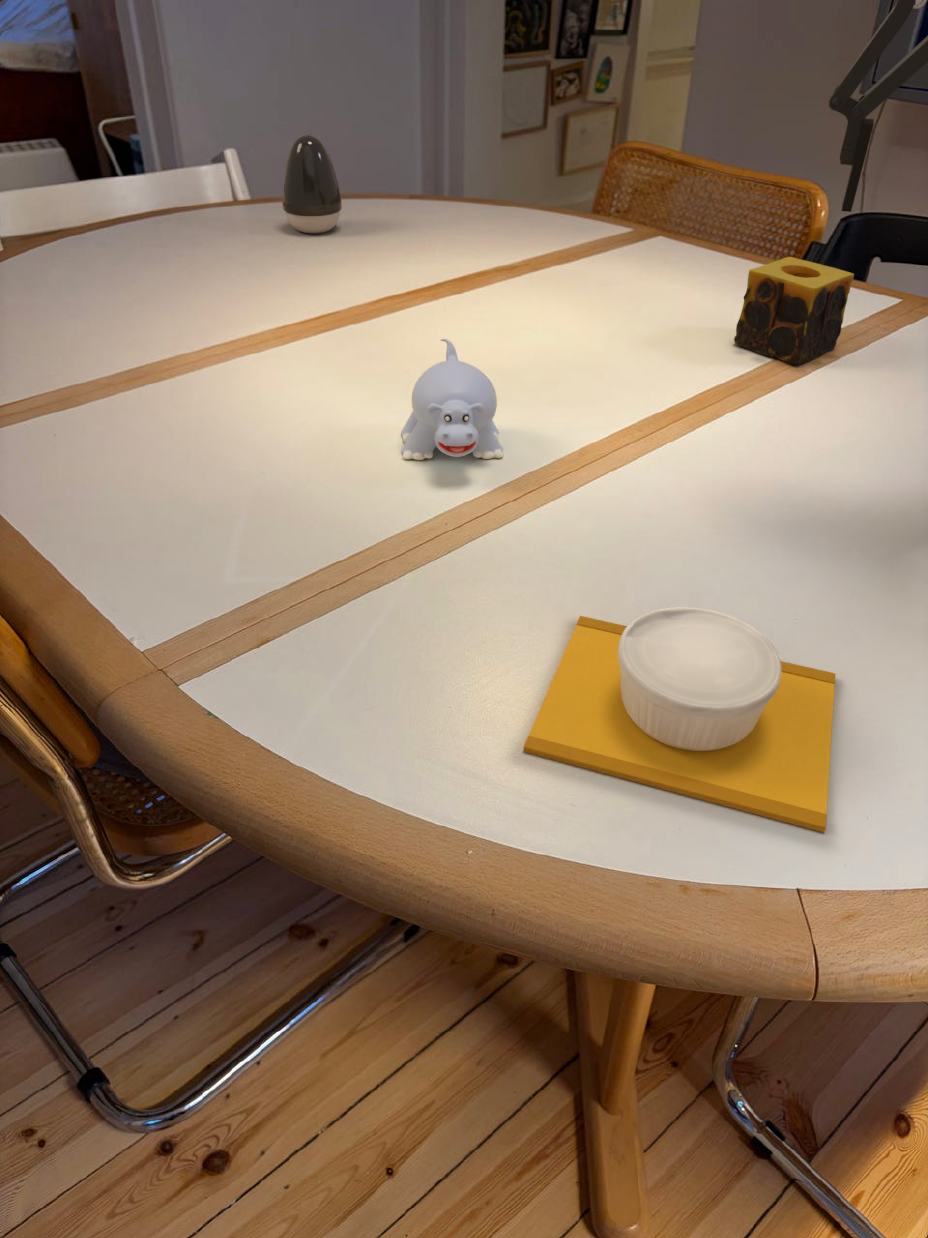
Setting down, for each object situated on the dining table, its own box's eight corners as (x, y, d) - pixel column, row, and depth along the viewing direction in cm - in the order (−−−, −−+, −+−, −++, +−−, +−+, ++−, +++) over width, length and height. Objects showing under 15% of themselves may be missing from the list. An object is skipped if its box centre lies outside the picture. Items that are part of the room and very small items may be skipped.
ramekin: (683, 641, 74) (695, 587, 71) (799, 721, 67) (817, 665, 64) (577, 696, 68) (585, 640, 65) (691, 789, 61) (705, 732, 58)
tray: (834, 678, 71) (835, 673, 71) (824, 833, 59) (826, 827, 59) (579, 620, 76) (580, 615, 76) (522, 751, 64) (523, 746, 64)
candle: (796, 367, 120) (816, 289, 114) (730, 345, 126) (745, 269, 119) (837, 348, 125) (858, 273, 119) (772, 327, 131) (789, 254, 125)
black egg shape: (344, 221, 170) (339, 128, 161) (341, 237, 162) (336, 140, 152) (287, 221, 169) (279, 127, 160) (282, 237, 161) (273, 140, 152)
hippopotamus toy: (403, 486, 93) (401, 397, 87) (400, 420, 105) (398, 337, 99) (510, 484, 94) (515, 396, 88) (495, 419, 106) (498, 337, 100)
